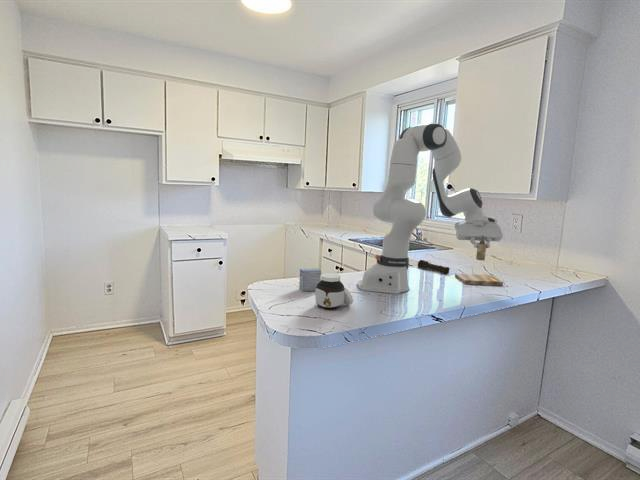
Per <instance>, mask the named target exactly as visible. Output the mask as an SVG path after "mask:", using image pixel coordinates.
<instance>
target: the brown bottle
mask: <svg viewBox="0 0 640 480" xmlns="http://www.w3.org/2000/svg"><path fill="white" fill-rule="evenodd" d="M477 243H478V244H479V247H478V248H477V249H476V257H475V259H476V261H485V260H486V251H487V248H486V243H487V242H486V241H484V236H482V238H481V241H479V242H477Z"/></svg>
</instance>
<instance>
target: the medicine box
mask: <svg viewBox="0 0 640 480" xmlns="http://www.w3.org/2000/svg"><path fill="white" fill-rule="evenodd" d="M321 275H322V271H321V270H320V269H319V268H317V267H315V268H314V267H313V268H300V269H299V286H298V287H299V290H300V291H301V292H314V291H315V292H316V286H317V284H318V283H319V282H320V281H321Z"/></svg>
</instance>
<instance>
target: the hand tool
mask: <svg viewBox="0 0 640 480" xmlns="http://www.w3.org/2000/svg"><path fill="white" fill-rule="evenodd" d="M417 267H418V268H420V269H423V270H430V271H434V272H438V273H440V274H444V275H448V274H449V273H450V267H449V266H443V265H438V264H433V263H430V262H429V261H428V260H424V259H419V261H418V262H417Z"/></svg>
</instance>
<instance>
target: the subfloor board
mask: <svg viewBox="0 0 640 480" xmlns="http://www.w3.org/2000/svg"><path fill="white" fill-rule="evenodd" d="M454 278H456V279H457V280H458V281H460V282H461V283H462V284H464V285H479V286H481V285H482V286H501V287H502V286H504V281H503V280H501V279H499V278H497V277H495V276H493V275H491V274H484V273H479V274H474V273H473V274H472V273H455V274H454Z"/></svg>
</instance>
